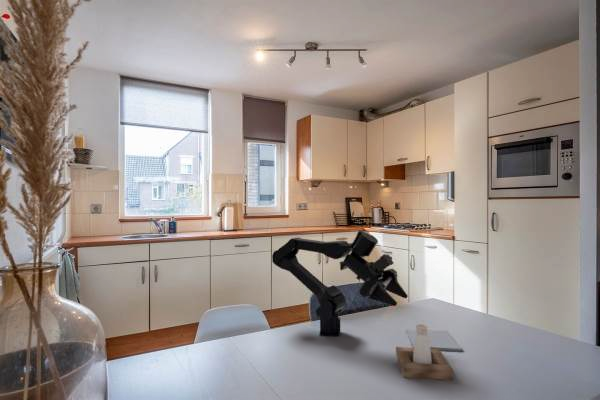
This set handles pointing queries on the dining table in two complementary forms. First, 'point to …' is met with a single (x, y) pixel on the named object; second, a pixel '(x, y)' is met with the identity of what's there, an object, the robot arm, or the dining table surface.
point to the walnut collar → (424, 365)
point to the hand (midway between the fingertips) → (401, 300)
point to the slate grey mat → (437, 340)
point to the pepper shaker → (422, 346)
